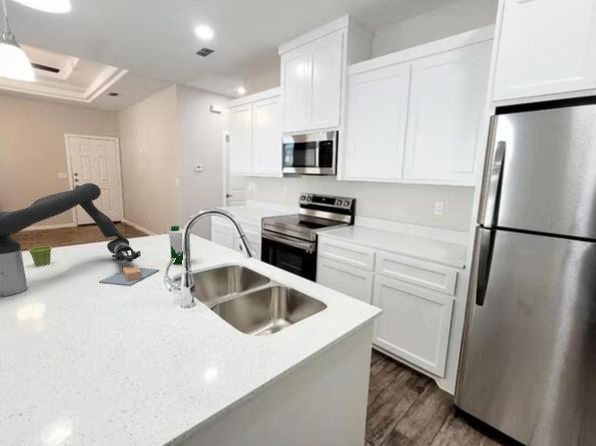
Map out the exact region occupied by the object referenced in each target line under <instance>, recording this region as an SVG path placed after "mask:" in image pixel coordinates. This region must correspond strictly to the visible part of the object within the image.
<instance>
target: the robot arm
mask: <svg viewBox="0 0 596 446" xmlns="http://www.w3.org/2000/svg"><path fill="white" fill-rule="evenodd" d="M101 193H102V190H101V188H100V187H99V186H98V185H97V184H95V183H92V182H86V183H83V184H81V185H78V186H76V187H74V189H70V190H67V191H61V192H58V193H53V194H51V195H50V194H49V195H47V196H44V197H41V198H38V199H37V200H35V201H34V202H33V203H32V204H31V205H30V206H27V207H25V208H22V209H17V210H14V211H0V297H7V296H11V295H12V296H13V295H17V294H20V293H22V292H25V291H27V289H28V285H27V284H28V283H27V278H26V270H25V266H24V265H25V264H24V258H23V253H22V247H21V243H20V241H19V242H18V241H17V240H16V239H14V238H13V237H12V235H15V234H17V233H19V232H21V231H23V230H25V229H27V228H29V227H31V226H32V225H35V224H36V223H40V222H42V221H45V220H47V219H50V218H54V217H57V216H58V215H61V214H63V213H65V212H67V211H70V210H71V209H73V208H75V207H77V206H80V207H81V208H82V209H83V210H84V211H85V212H86V213H87V215H88V216H89V217H90V218H91V219H92V221H93V222H94V223H95V224H96V226H97V227H98V229H99V230H100V232H101V233H102V235H103V237H105V238H112V237H117V238H115V239H112V240H111V241H108V243H107V245H106V248H107V250H108V251H109V252H110V253H111V254H112V255H111V257H112V258H111V259H112V261H117V262H125V261H126V262H128V263H132V262H133V261H134V260H136V259H138V258H139V257H141V256H142V254H141V250H137V251H135V250H133V248H132V247H131V246H130V241H129V239H128V238H127V237H125V236H124V235H123V234H122V232H120V231H119V229H118V228H117V227H116V225H115V223H114V222H113V220H112V219H111V218H110V217H109V216H108V215H107V214H105V213H103V212H102V211H100V210H99V209H98V207H97V206H96V205H95V204H94V202H93V201H96V200H97V199H98V198H100V196H101Z"/></svg>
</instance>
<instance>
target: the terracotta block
mask: <svg viewBox="0 0 596 446" xmlns="http://www.w3.org/2000/svg"><path fill="white" fill-rule="evenodd" d="M139 268H140V267H139V266H138V265H131V266H126V267H125V266H124V267H122V271H123V275H124V276H125V278H126V280H127V281H131V280H136V279H141V278H142V271H141V270H140V269H139Z"/></svg>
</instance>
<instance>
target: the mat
mask: <svg viewBox="0 0 596 446" xmlns="http://www.w3.org/2000/svg"><path fill="white" fill-rule="evenodd" d="M139 269H140V270H141V271H142V278H141V279H136V280H131V281H127V280H126V278H125V276H124V275H123V270H122V271H119V272H117V273H115V274H113V275H110V276H108V277H105V278H104V279H100V280H99V281H98V283H99V284H101V283H102V284H108V285H116V284H117V285H119V286H128V287H132V285H135V284H137V283H138V282H140V281H143V280H144V279H147V278H149V277H150V276H152V275H154V274H156V273H158V272H160V269H156V268H147V267H139ZM117 285H116V286H117Z"/></svg>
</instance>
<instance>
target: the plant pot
mask: <svg viewBox="0 0 596 446" xmlns="http://www.w3.org/2000/svg"><path fill="white" fill-rule="evenodd" d="M52 248H53V247H52V246H49V245H48V246H47V245H45V246H37V247H36V246H35V247H33V248H29V249H28V252H29V254H30V255H31V258H32V261H33V264H34V266H35V267H42V266H48V265H50V264H51V253H52ZM47 264H48V265H47Z"/></svg>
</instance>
